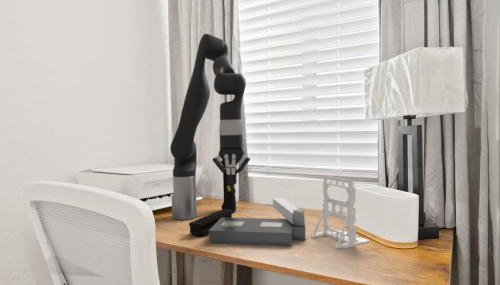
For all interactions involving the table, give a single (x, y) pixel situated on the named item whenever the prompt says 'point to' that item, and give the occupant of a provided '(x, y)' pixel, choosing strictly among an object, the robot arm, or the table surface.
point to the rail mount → (208, 222)
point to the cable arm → (289, 211)
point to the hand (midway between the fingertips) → (231, 185)
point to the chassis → (255, 231)
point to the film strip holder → (340, 215)
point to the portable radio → (228, 193)
